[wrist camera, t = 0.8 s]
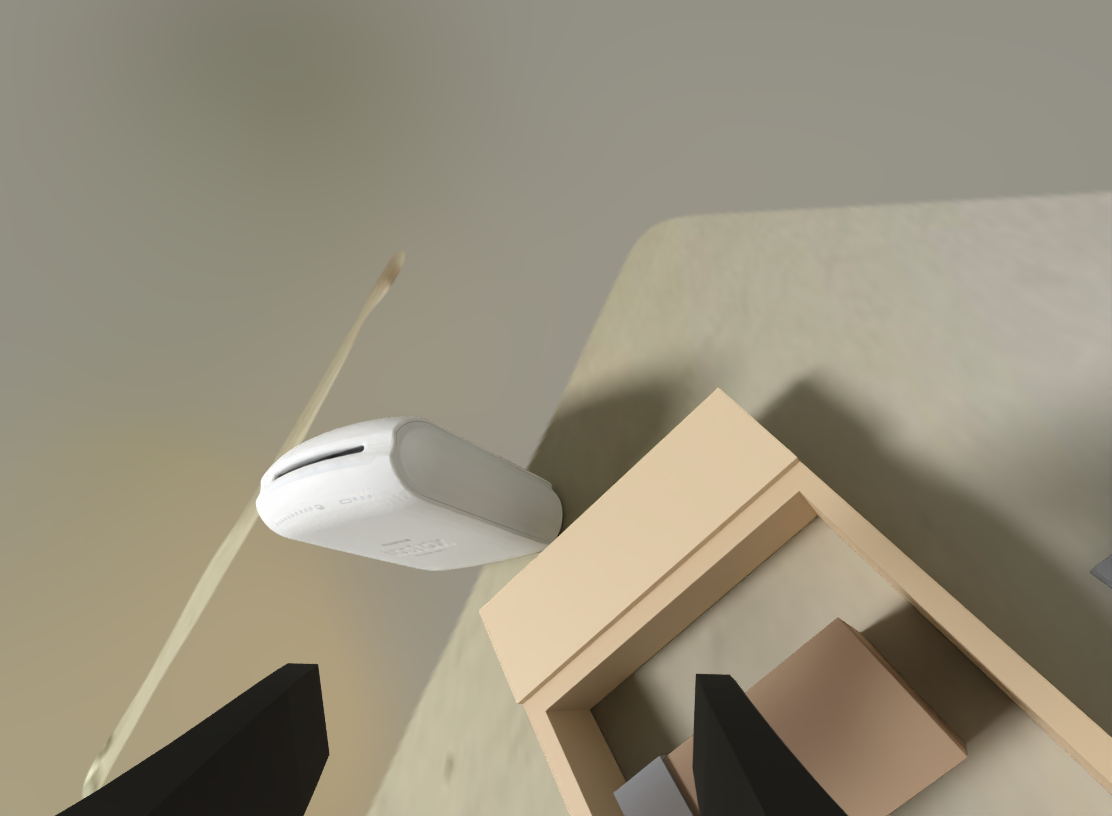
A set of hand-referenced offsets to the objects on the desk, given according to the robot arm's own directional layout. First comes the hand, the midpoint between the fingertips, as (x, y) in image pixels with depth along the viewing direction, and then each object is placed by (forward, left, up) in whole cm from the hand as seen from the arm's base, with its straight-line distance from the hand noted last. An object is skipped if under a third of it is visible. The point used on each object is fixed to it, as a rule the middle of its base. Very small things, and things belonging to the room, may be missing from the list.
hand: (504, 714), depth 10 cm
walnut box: (-3, -1, -15) cm, 15 cm away
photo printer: (+14, +6, -15) cm, 22 cm away
